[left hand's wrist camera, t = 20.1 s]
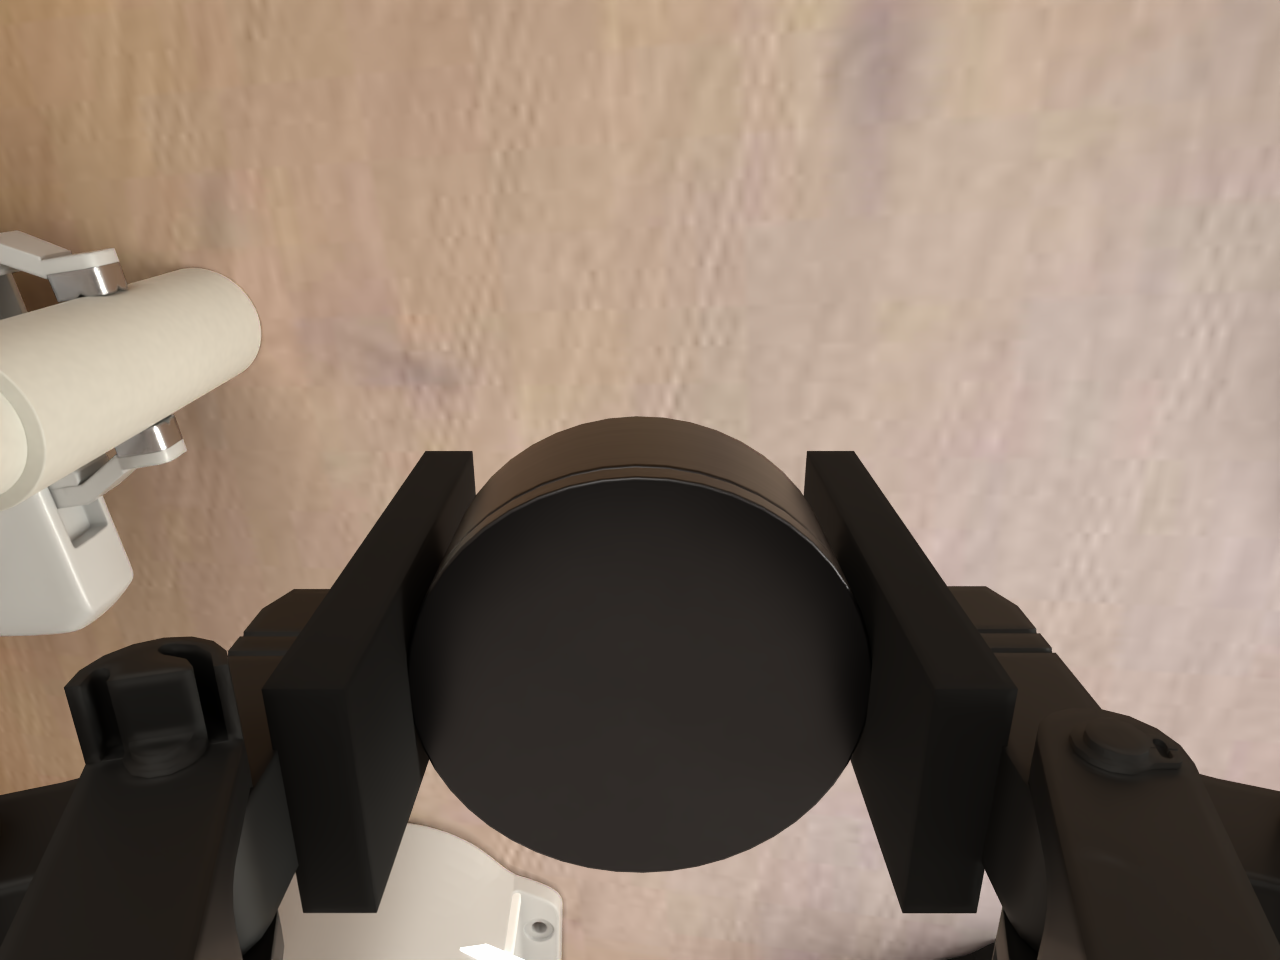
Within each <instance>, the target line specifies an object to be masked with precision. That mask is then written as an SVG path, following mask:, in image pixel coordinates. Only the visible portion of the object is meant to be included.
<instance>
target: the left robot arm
mask: <svg viewBox="0 0 1280 960" xmlns="http://www.w3.org/2000/svg"><path fill="white" fill-rule="evenodd" d="M475 496H476V493H475V479H474V466H473V452H472V451H425V453H424V454H423V456H422V457H421V459H420V460H419V461H418V463H417V464H416V466H415V467H414V469H413V470H412V472H411V473H410V474H409V476H408V477H407V479H406V480H405V482H404V483H403V485H402V486H401V487H400V489H399V490H398V492H397V493H396V495H395V496H394V498H393V499H392V501H391V502H390V503H389V505H388V506H387V508H386V509H385V511H384V512H383V514H382V515H381V516H380V518H379V519H378V521H377V522H376V524H375V525H374V527H373V528H372V529H371V531H370V532H369V534H368V535H367V537H366V538H365V540H364V541H363V542H362V544H361V545H360V547H359V548H358V550H357V551H356V553H355V554H354V556H353V557H352V558H351V560H350V561H349V563H348V564H347V566H346V567H345V569H344V570H343V571H342V573H341V574H340V576H339V577H338V579H337V580H336V582H335V583H334V584H333V586H332V587H331V589H293V590H292V591H290V592H289V593H287V594H285V595H284V596H282V597H281V598H279V599H277V600H276V601H274V602H273V603H271V604H269V605H268V606H266V607H265V608H263V609H262V610H261V611H260V612H259V614H258V615H257V616H256V617H255V619H254V620H253V621H252V622H251V623H250V625H249V626H248V627H247V628H246V630H245V631H244V636H243V637H239V638H238V640H237V641H236V642H235V643H234V645H233V646H232V647H231V648H230V650H229V651H228V656H227V651H226V650H225V649H223V648H222V647H221V646H219V645H218V644H217V643H215V642H214V641H211V640H206V639H201V638H196V637H170V638H161V639H156V640H151V641H147V642H142V643H137V644H133V645H130V646H128V647H125V648H123V649H120V650H117V651H115V652H112V653H110V654H107V655H104V656H103V657H101V658H99V659H98V660H96V661H94V662H93V663H91V664H89V665H88V666H86V667H85V668H83V669H81V670H80V671H79V672H78V673H77V674H76V675H75V676H74V677H73V678H72V679H71V680H70V681H69V682H68V684H67V685H66V686H65V687H64V690H65V693H66V697H67V700H68V704H69V707H70V711H71V714H72V718H73V721H74V725H75V728H76V732H77V735H78V739H79V742H80V746H81V750H82V753H83V757H84V760H85V764H86V765H85V767H84V769H83V772H82V774H81V776H80V778H78V779H74V780H70V781H66V782H63V783H58V784H53V785H48V786H43V787H38V788H33V789H28V790H24V791H19V792H14V793H9V794H4V795H0V960H283V954H284V940H283V933H282V927H281V922H280V917H279V912H278V908H279V906H280V904H281V902H282V899H283V897H284V895H285V893H286V891H287V889H288V887H289V885H290V882H291V880H292V878H293V876H294V874H295V872H296V878H297V883H298V888H299V894H300V899H301V905H302V910H303V913H377V911H378V908H379V905H380V902H381V899H382V896H383V893H384V890H385V888H386V885H387V882H388V879H389V876H390V873H391V870H392V867H393V864H394V861H395V858H396V855H397V852H398V849H399V846H400V843H401V841H402V838H403V835H404V832H405V829H406V826H407V823H408V820H409V817H410V814H411V811H412V808H413V805H414V802H415V799H416V796H417V793H418V791H419V788H420V785H421V782H422V779H423V776H424V773H425V770H426V767H427V764H428V761H429V758H428V756H427V754H426V752H425V750H424V748H423V747H422V744H421V741H420V738H419V736H418V733H417V730H416V728H415V725H414V721H413V713H412V705H411V697H410V687H409V678H408V668H407V659H408V649H409V642H410V638H411V634H412V630H413V627H414V623H415V619H416V616H417V614H418V612H419V609H420V607H421V605H422V602H423V600H424V598H425V596H426V593H427V591H428V589H429V587H430V585H431V583H432V581H433V579H434V576H435V574H436V572H437V570H438V568H439V566H440V564H441V562H442V559H443V557H444V555H445V553H446V551H447V549H448V547H449V545H450V543H451V540H452V538H453V536H454V534H455V532H456V530H457V528H458V526H459V524H460V521H461V519H462V517H463V515H464V514H465V512H466V511H467V509H468V507H469V506H470V504H471V502H472V501H473V499H474V498H475ZM804 497H805V499H806V500H807V502H808V503H809V505H810V506H811V508H812V509H813V511H814V513H815V515H816V517H817V519H818V521H819V523H820V525H821V527H822V529H823V532H824V534H825V536H826V538H827V540H828V542H829V544H830V546H831V548H832V551H833V553H834V555H835V557H836V559H837V561H838V563H839V565H840V568H841V570H842V572H843V574H844V576H845V578H846V580H847V582H848V584H849V587H850V589H851V591H852V593H853V595H854V597H855V599H856V601H857V604H858V606H859V608H860V610H861V612H862V616H863V619H864V622H865V625H866V629H867V632H868V635H869V640H870V647H871V654H872V672H871V682H870V692H869V700H868V708H867V717H866V723H865V726H864V729H863V732H862V735H861V738H860V741H859V743H858V745H857V747H856V749H855V751H854V753H853V755H852V757H851V759H850V760H851V763H852V766H853V769H854V772H855V774H856V777H857V780H858V783H859V786H860V789H861V792H862V795H863V798H864V801H865V804H866V807H867V810H868V813H869V816H870V819H871V821H872V824H873V827H874V830H875V833H876V836H877V839H878V842H879V845H880V848H881V851H882V854H883V857H884V860H885V863H886V866H887V869H888V871H889V874H890V877H891V880H892V883H893V886H894V889H895V892H896V895H897V898H898V901H899V904H900V907H901V910H902V913H976V912H977V907H978V902H979V896H980V891H981V885H982V880H983V875H984V869H985V871H986V873H987V875H988V877H989V879H990V881H991V883H992V886H993V888H994V890H995V892H996V894H997V896H998V898H999V900H1000V902H1001V905H1002V912H1001V917H1000V922H999V927H998V932H997V937H996V942H995V947H994V952H993V957H992V960H1280V791H1276V790H1271V789H1266V788H1261V787H1256V786H1251V785H1246V784H1241V783H1236V782H1231V781H1226V780H1221V779H1217V778H1213V777H1209V776H1205V775H1202V774H1199V772H1198V770H1197V768H1196V766H1195V764H1194V762H1193V761H1192V760H1191V758H1190V757H1189V756H1188V755H1187V753H1186V752H1185V751H1184V749H1183V748H1182V747H1181V745H1179V744H1178V743H1176V742H1175V741H1174V740H1172V739H1171V738H1170V737H1168V736H1167V735H1165V734H1164V733H1163V732H1161V731H1160V730H1158V729H1157V728H1154V727H1152V726H1150V725H1148V724H1146V723H1143V722H1141V721H1139V720H1137V719H1134V718H1132V717H1130V716H1126V715H1122V714H1118V713H1114V712H1110V711H1106V710H1102V709H1101V708H1100V707H1099V705H1098V704H1097V703H1096V702H1095V700H1094V699H1093V698H1092V697H1091V696H1090V694H1089V693H1088V692H1087V691H1086V689H1085V688H1084V687H1083V686H1082V685H1081V683H1080V682H1079V681H1078V680H1077V678H1076V677H1075V676H1074V675H1073V673H1072V672H1071V671H1070V670H1069V669H1068V667H1067V666H1066V665H1065V664H1064V662H1063V661H1062V660H1061V659H1060V657H1059V656H1058V655H1057V654H1056V653H1052V648H1051V646H1050V645H1049V644H1048V643H1047V641H1046V640H1045V639H1044V638H1043V637H1042V635H1041V634H1040V633H1036V628H1035V627H1034V625H1033V624H1032V623H1031V622H1030V621H1029V619H1028V618H1027V617H1026V616H1025V614H1024V613H1023V612H1022V611H1021V609H1020V608H1019V607H1018V606H1017V605H1015V604H1014V603H1012V602H1010V601H1009V600H1007V599H1006V598H1004V597H1002V596H1001V595H999V594H997V593H996V592H994V591H993V590H991V589H989V588H988V587H986V586H947V585H946V584H945V582H944V581H943V580H942V578H941V577H940V575H939V574H938V572H937V571H936V569H935V568H934V566H933V565H932V564H931V562H930V561H929V559H928V558H927V556H926V555H925V553H924V552H923V551H922V549H921V548H920V546H919V545H918V543H917V542H916V540H915V539H914V538H913V536H912V535H911V533H910V532H909V530H908V529H907V527H906V526H905V524H904V523H903V522H902V520H901V519H900V517H899V516H898V514H897V513H896V511H895V510H894V509H893V507H892V506H891V504H890V503H889V501H888V500H887V498H886V497H885V496H884V494H883V493H882V491H881V490H880V488H879V487H878V485H877V484H876V482H875V481H874V480H873V478H872V477H871V475H870V474H869V472H868V471H867V469H866V468H865V467H864V465H863V464H862V462H861V461H860V459H859V458H858V456H857V455H856V454H855V452H854V451H807V458H806V472H805V486H804Z"/></svg>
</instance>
